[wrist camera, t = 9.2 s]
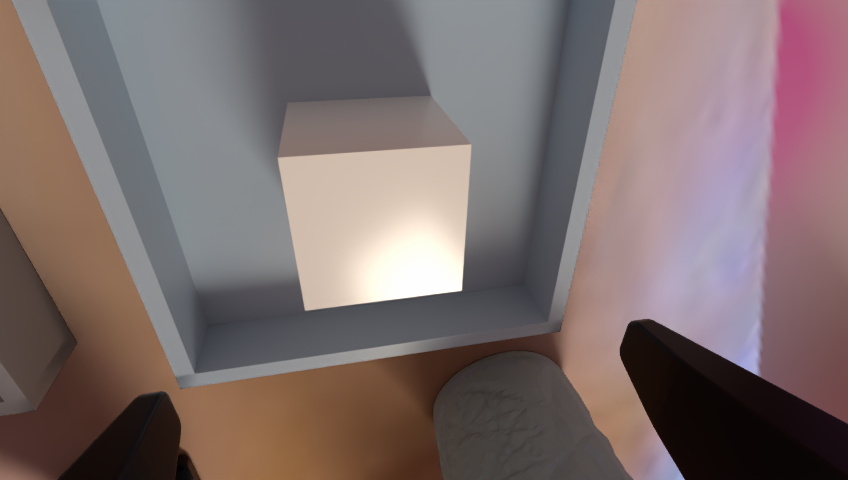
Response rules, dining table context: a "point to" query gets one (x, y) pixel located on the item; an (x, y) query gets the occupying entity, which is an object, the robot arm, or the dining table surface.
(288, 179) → the smooth beige block
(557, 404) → the grey cylinder
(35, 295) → the bin
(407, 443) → the dining table surface
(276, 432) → the dining table surface
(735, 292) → the dining table surface
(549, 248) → the bin
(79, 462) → the robot arm
